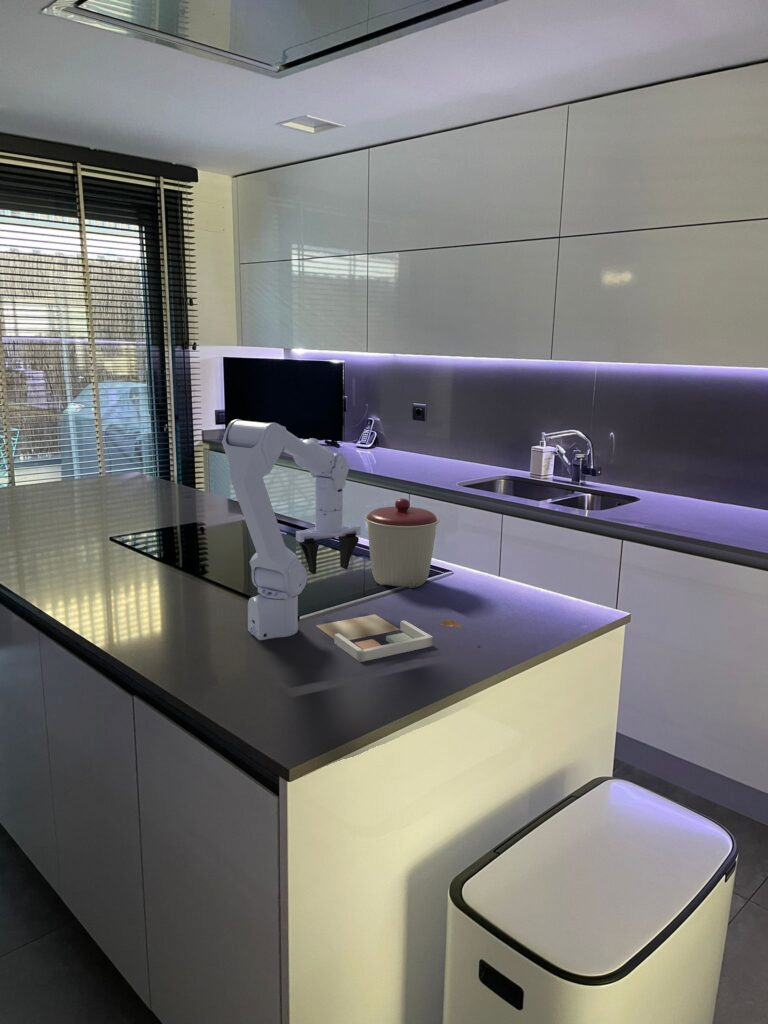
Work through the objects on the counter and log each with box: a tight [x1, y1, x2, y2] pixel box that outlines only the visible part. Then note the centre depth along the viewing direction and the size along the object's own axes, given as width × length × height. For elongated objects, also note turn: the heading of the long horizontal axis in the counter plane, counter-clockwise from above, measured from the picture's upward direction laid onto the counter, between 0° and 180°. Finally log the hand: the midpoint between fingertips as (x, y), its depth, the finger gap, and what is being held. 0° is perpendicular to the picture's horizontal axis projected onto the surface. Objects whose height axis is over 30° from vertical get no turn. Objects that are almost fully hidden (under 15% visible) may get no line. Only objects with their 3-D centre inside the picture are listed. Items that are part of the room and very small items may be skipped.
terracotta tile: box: [353, 638, 383, 650], centre depth 146 cm, size 4×4×2 cm
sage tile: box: [385, 632, 414, 644], centre depth 150 cm, size 4×4×2 cm
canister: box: [364, 498, 441, 589], centre depth 188 cm, size 18×18×21 cm
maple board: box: [315, 613, 401, 641], centre depth 157 cm, size 14×10×1 cm
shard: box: [439, 618, 462, 629], centre depth 164 cm, size 11×8×2 cm
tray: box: [333, 619, 434, 663], centre depth 148 cm, size 16×10×3 cm, turn 121°
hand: (328, 570), depth 167 cm, fingers open, 7 cm apart
